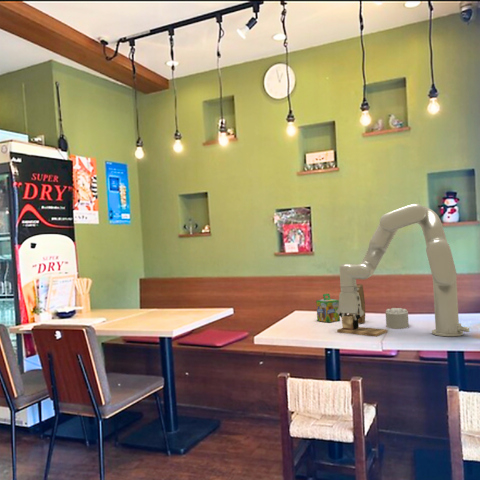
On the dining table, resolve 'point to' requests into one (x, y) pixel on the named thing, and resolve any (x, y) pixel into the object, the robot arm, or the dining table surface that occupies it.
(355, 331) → the board
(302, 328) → the dining table surface
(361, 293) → the block
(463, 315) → the dining table surface
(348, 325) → the block
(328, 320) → the chalk box
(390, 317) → the lumpy-topped squat cylinder
